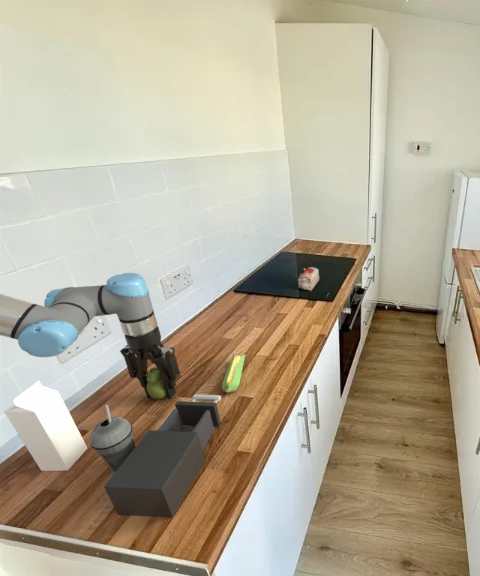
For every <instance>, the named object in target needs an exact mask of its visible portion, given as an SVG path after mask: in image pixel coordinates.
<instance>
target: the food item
mask: <svg viewBox="0 0 480 576" xmlns="http://www.w3.org/2000/svg"><path fill="white" fill-rule="evenodd" d="M319 271H320V270H319V269H318V268H317V267H314V266H308V267H307V268H305V267H304V268H303V272H300V274H299V277H298V278H297V285H298V286H297V287H298V288H299V289H301V290H303V291H309V292H312V291H313V290H314V288H315V287H316V285H318V283H319V281H320V272H319Z"/></svg>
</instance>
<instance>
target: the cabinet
mask: <svg viewBox="0 0 480 576" xmlns="http://www.w3.org/2000/svg"><path fill="white" fill-rule="evenodd" d="M205 460H206V458H205V454H204V449H203V450H202V446H201V443H200V439H199V436H198V432H176V431H158V430H151V429H148V431H147V432H146V433H145V434H144V435H143V437H142V438H141V439H140V440H139V442H138V443H137V444H136V445H135V448H134V449H133V451H132V452H131V453H130V454H129V456H128V457H127V458H126V459H125V461H124V462H123V463H122V464H121V466H120V467H119V468H118V469H117V471H116V472H115V473H114V474H113V473H112V475H111V477H110V478H109V480H107V482H106V483H105V484H104V485H103V489H104V491H105V492H106V494H107V496H108V498H109V500H110V502H111V504H112V506H113V508H114V510H115V511H116V513H117V515H118V516H135V517H136V516H137V517H157V518H159V517H160V518H163V517H164V518H173V517H174V516H175V514H176V512H177V511H178V509H179V507H180V505H181V504H182V502H183V500H184V498H185V496H186V495H187V493H188V491H189V489H190V487H191V486H192V483H193V482H194V480H195V478H196V477H197V475H198V473H199V471H200V469H201V468H202V466H203V464H204V462H205Z"/></svg>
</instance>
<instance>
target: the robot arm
mask: <svg viewBox="0 0 480 576" xmlns="http://www.w3.org/2000/svg"><path fill="white" fill-rule="evenodd" d="M150 295H151V294H150V290H149V288H148V286H147V284H146V281H145V277H143V275H142V274H140V273H136V272H124V273H121V274H120V273H119V274H114V275H112V276H110V277H109V278H108V279H107V280H106V284H102V285H87V286H67V287H64V288H55V289H52V290H50V291H48V293H47V294H46V295H45V297H46V298H45V299H44V301H43V304H44V305H41V304H37V303H33V302H30V301H26V300H23V299H20V298H16V297H13V296H11V295H6V294H2V293H0V336H1V337H6V338H9V339H13V340H17V344H18V346H19V348H20V349H21V350H22V351H24V352H26V353H27V354H28V355H30V356H32V357H36V358H51V357H56V356H59V355H61V354H63V353H64V352H65V351H66V350H67V349H68V348H69V347H70V346H71V345H73V344H74V342H75V341H77V340H78V338H79V336H80V334H81V333H82V331H83V330H85V328H86V327H87V326H88V325H89V324H90V322H91V321H93V319H94V317H102V316H110V315H117V319H118V321H119V323H120V327H121V330H122V333H123V335H124V338H125V341H126V345H125V346H124V347H123V348H121V349H120V350H119V352H120V354H121V355H122V357H123V358H124V362H125V364H126V368H127V371H128V374H129V377H130V379H137V380H138V381H139V383H140V386H141V388H142V389H143V390H144V392H145V395H146V398H147V399H151V398H152V397H151V396H150V395H149V393H148V391H147V383H148V381H147V374H148V362H149V361H150V362H151V364H153V365H155V367H157V368H158V370H159V371H160V373H161V374H162V376H163V377H164V379H165V380H164V381H163V384H164V387H165V390H166V394H167V396H166V397H167V399H168V400H172V399H173V397H174V396H175V395H176V393H177V391H176V388H175V387H176V386H177V383H176V379H178V377H179V376H180V375H181V371H180V368H179V365H178V362H177V359H176V355H175V351H176V349H175V347H173V346H171V347H170V348H169V347H165V345H164V344H163V343H162V335H161V331H160V328H159V326H158V321H157V318H156V314H155V311H154V307H153V304H152V300H151V296H150ZM148 360H149V361H148Z"/></svg>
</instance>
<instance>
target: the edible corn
mask: <svg viewBox="0 0 480 576" xmlns="http://www.w3.org/2000/svg"><path fill="white" fill-rule="evenodd" d="M245 359H246V354H242V355H235V353H233V354H232V356H231V359H230V363H229V365H228V367H227V370H226V372H225V374H224V377H223V379H222V383H221V390H222V391H223V392H224V393H234V392H236V391H238V390H239V387H240V384H241V378H242V373H243V368H244V364H245Z"/></svg>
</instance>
